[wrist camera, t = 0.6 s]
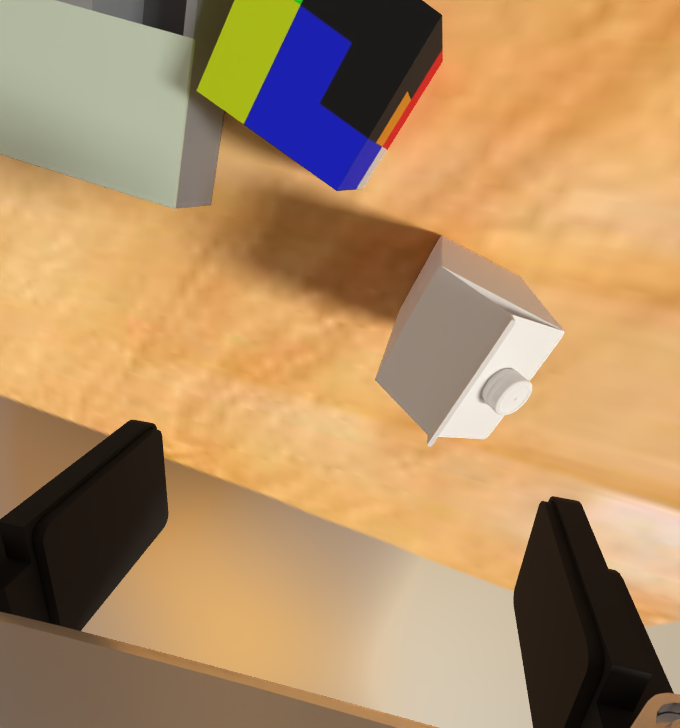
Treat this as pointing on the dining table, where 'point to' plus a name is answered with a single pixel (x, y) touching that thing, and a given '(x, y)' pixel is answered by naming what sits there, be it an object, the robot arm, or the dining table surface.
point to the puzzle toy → (325, 77)
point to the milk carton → (465, 344)
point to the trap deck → (113, 93)
